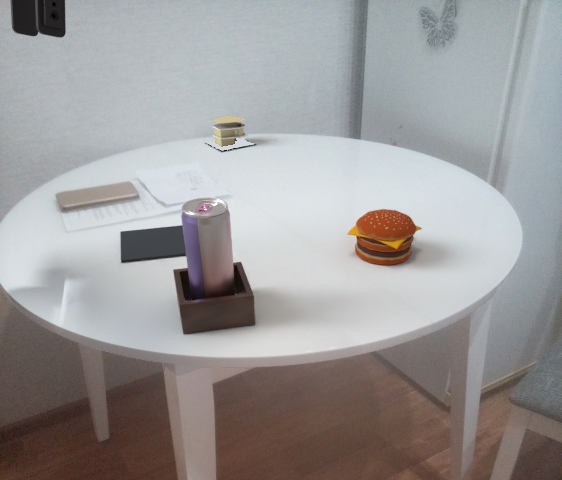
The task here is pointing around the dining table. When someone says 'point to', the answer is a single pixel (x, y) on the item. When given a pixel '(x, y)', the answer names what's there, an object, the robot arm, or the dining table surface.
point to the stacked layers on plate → (228, 130)
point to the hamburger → (384, 236)
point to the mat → (152, 243)
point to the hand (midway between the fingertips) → (37, 35)
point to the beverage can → (208, 248)
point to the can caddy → (215, 305)
